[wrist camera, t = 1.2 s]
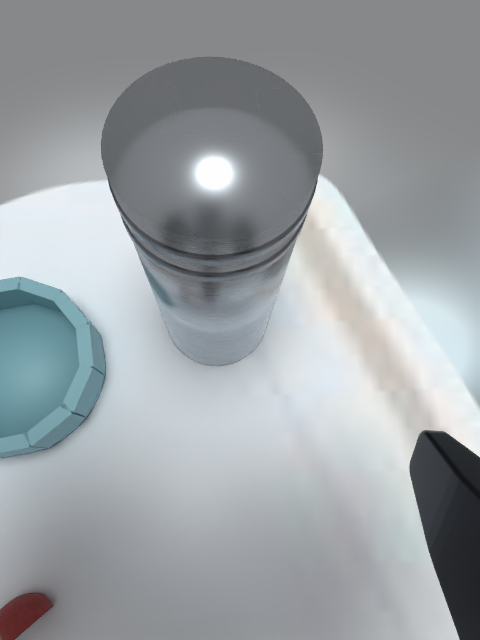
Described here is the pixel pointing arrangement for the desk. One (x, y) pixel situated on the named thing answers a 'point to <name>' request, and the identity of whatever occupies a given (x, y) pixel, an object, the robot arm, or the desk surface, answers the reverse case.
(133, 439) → the desk surface
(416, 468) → the robot arm
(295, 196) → the piston
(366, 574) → the desk surface
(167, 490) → the desk surface
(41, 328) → the ring collar
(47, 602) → the pliers
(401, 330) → the desk surface
